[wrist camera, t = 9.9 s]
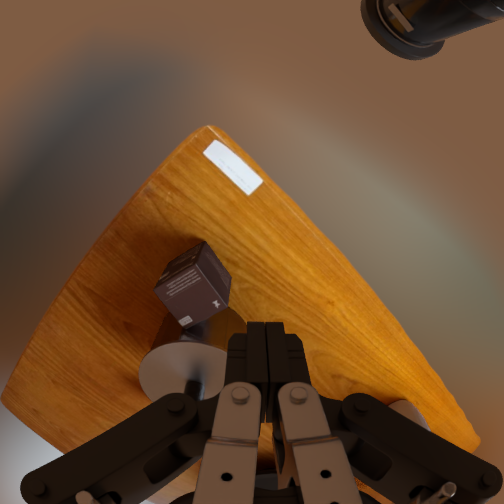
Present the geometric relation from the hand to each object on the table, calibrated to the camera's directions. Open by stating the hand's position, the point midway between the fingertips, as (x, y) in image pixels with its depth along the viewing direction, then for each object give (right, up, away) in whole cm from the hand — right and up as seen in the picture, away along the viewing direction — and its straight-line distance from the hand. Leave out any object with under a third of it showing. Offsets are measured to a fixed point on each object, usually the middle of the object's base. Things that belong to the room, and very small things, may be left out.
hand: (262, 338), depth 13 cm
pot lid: (-7, -12, +21) cm, 25 cm away
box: (-7, +1, +26) cm, 27 cm away
